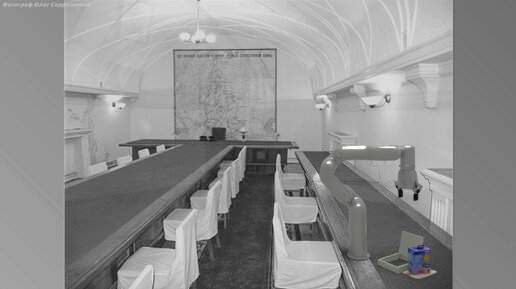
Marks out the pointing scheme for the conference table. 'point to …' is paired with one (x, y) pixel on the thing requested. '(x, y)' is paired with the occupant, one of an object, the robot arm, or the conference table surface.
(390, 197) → the conference table surface
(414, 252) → the ink cartridge box
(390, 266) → the case
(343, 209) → the conference table surface
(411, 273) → the board
